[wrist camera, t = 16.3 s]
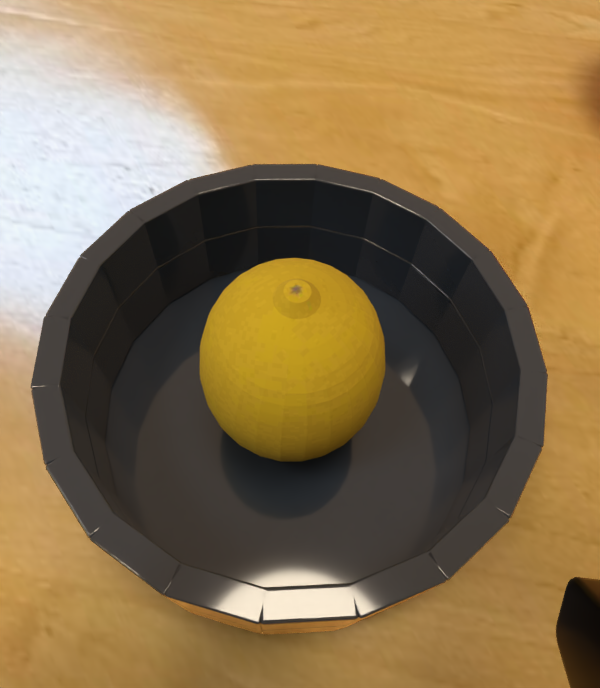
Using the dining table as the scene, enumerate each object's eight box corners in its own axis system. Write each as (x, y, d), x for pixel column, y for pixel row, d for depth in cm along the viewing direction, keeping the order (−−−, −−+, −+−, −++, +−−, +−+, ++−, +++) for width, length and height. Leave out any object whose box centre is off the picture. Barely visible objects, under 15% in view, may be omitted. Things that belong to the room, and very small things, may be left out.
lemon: (297, 323, 23) (309, 172, 16) (395, 425, 21) (458, 305, 14) (181, 405, 21) (136, 274, 14) (277, 525, 19) (281, 443, 12)
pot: (142, 715, 17) (91, 735, 12) (56, 314, 23) (0, 223, 18) (561, 533, 20) (654, 492, 15) (382, 224, 26) (408, 126, 21)
